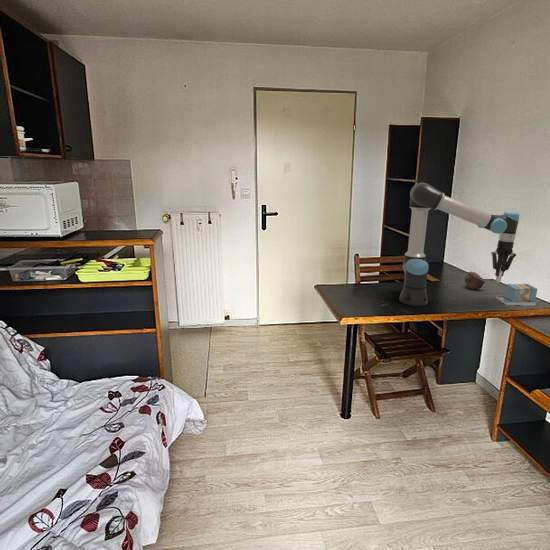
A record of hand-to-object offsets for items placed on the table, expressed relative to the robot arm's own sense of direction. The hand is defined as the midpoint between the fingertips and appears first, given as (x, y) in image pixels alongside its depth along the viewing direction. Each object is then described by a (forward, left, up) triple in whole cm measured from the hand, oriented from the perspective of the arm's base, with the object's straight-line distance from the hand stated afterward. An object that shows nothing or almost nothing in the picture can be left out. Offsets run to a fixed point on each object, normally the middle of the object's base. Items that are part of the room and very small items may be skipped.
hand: (497, 281), depth 224 cm
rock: (-2, +23, -12) cm, 26 cm away
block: (+13, -2, -10) cm, 16 cm away
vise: (+11, -2, -11) cm, 16 cm away
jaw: (+8, -2, -10) cm, 13 cm away
